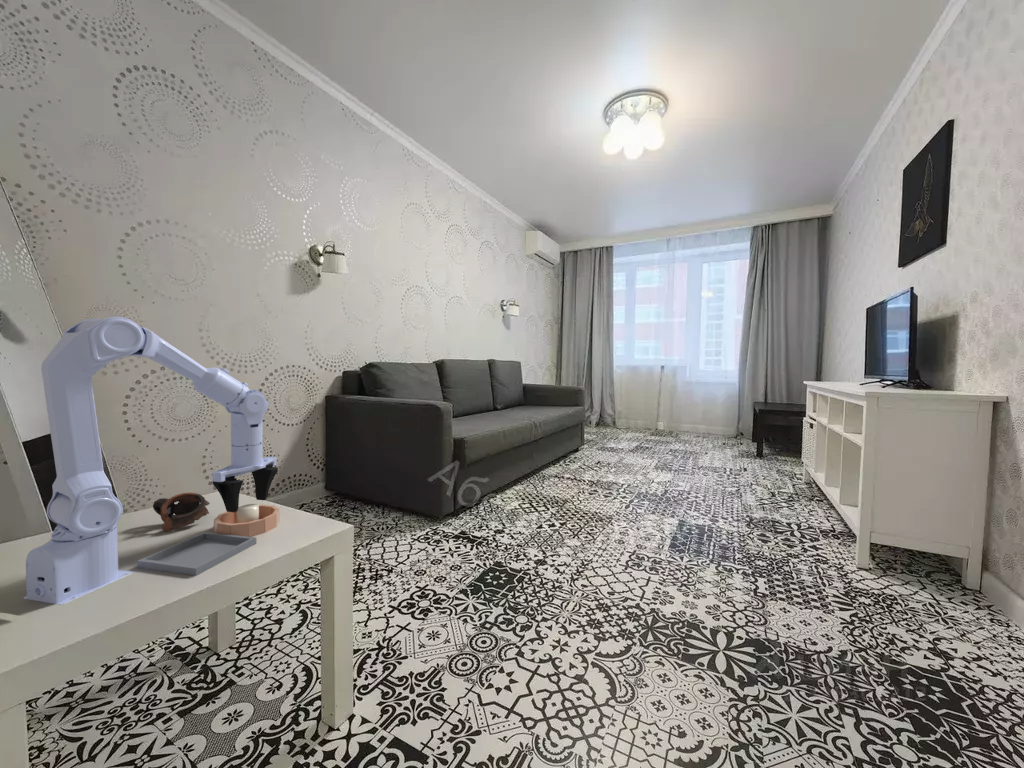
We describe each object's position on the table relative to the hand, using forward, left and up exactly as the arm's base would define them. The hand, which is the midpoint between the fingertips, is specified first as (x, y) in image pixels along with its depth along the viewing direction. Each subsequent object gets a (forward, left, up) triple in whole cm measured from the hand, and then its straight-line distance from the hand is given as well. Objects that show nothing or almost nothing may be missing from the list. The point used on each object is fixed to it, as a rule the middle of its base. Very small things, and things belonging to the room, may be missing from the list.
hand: (247, 505), depth 86 cm
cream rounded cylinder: (0, 0, -5) cm, 5 cm away
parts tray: (-12, -2, -6) cm, 14 cm away
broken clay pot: (-1, +17, -6) cm, 18 cm away
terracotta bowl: (0, 0, -6) cm, 6 cm away
